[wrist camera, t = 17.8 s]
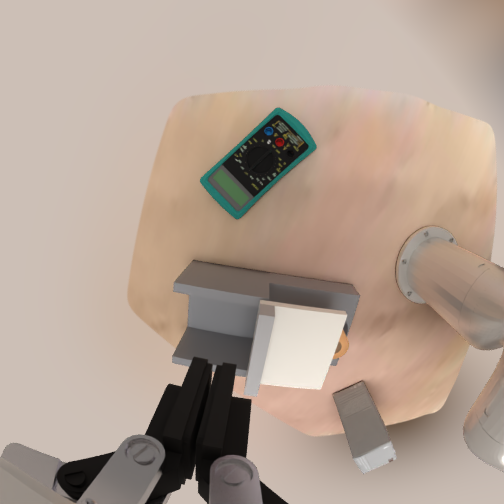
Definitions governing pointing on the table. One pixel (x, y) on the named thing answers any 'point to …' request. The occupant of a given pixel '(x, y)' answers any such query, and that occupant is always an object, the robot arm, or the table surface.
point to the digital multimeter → (258, 162)
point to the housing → (247, 309)
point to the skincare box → (364, 428)
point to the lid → (292, 346)
